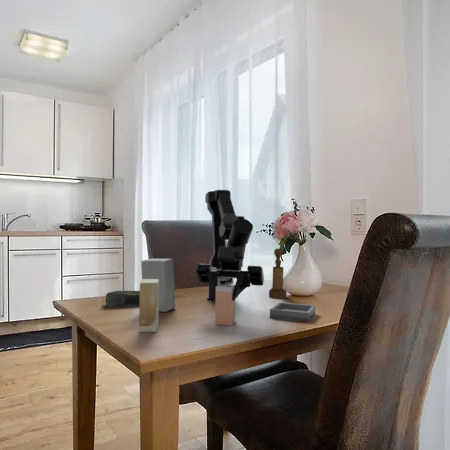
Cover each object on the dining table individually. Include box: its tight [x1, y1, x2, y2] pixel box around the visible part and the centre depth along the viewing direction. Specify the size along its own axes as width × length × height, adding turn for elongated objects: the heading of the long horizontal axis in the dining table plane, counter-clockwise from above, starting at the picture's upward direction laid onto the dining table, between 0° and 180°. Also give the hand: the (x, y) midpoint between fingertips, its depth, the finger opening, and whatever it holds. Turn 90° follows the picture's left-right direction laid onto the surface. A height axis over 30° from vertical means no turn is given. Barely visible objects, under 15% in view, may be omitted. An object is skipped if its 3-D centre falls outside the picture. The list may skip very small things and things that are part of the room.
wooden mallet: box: [268, 248, 287, 299], centre depth 144 cm, size 7×6×18 cm
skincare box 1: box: [140, 258, 176, 313], centre depth 119 cm, size 8×7×16 cm
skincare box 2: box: [138, 279, 160, 333], centre depth 97 cm, size 6×4×12 cm
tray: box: [269, 301, 316, 323], centre depth 113 cm, size 11×11×2 cm
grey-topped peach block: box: [214, 284, 236, 326], centre depth 104 cm, size 4×4×10 cm
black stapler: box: [101, 290, 140, 308], centre depth 125 cm, size 5×3×15 cm
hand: (224, 299), depth 103 cm, fingers closed on grey-topped peach block, 4 cm apart
